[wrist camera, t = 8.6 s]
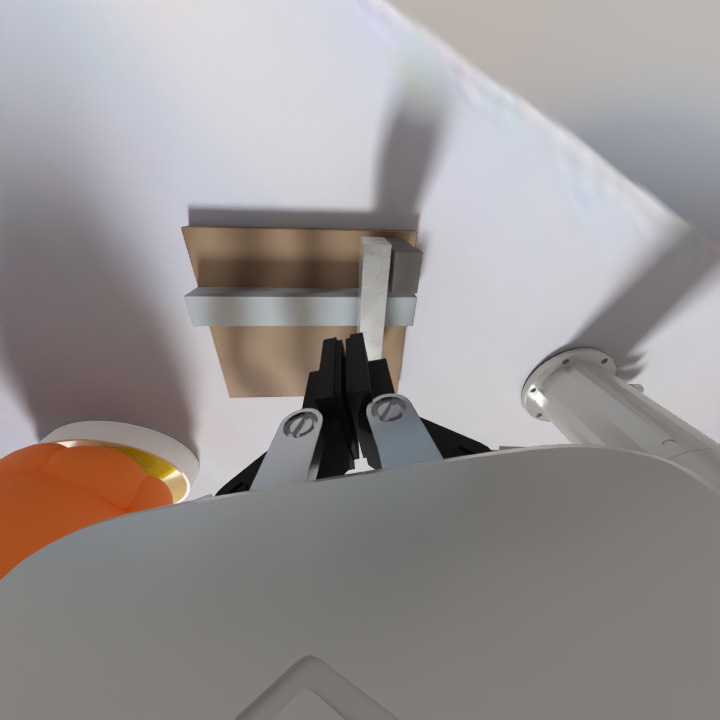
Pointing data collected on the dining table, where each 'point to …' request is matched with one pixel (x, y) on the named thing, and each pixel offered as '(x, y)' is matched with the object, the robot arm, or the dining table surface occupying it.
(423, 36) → the dining table surface
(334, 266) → the frame
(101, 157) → the dining table surface
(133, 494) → the potted cactus
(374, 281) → the bar
